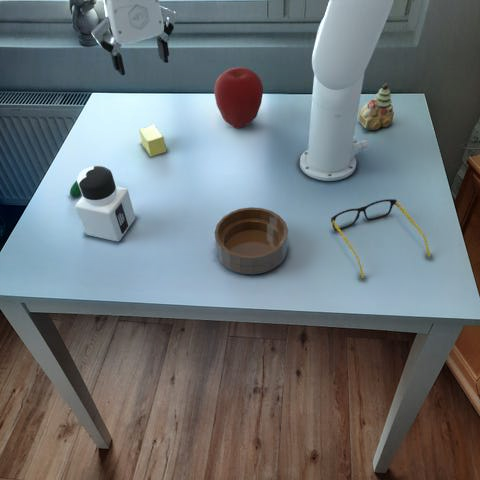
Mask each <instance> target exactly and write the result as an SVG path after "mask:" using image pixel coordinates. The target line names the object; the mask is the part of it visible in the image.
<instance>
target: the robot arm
mask: <svg viewBox="0 0 480 480" xmlns="http://www.w3.org/2000/svg"><path fill="white" fill-rule="evenodd" d="M394 1H395V0H328V4H327V6H326V11H325V14H324V16H323V18H322V19H321V21H320V24H319V26H318V28H317V32H316V36H315V41H314V46H313V51H312V56H311V67H312V71H313V83H312V84H313V85H312V96H311V105H310V120H309V132H308V142H307V149H306V150H305V151H304V152H303V153H302V154H301V156H300V158H299V166H300V169H301V171H302V172H303V173H304V174H305V175H307V176H308V177H310V178H312V179H314V180H318V181H322V182H335V181H341V180H343V179H346V178H348V177H350V176H351V175H352V174H353V173H354V172H355V170H356V168H357V158H356V156H355V155H357V154H358V153H359V152H360V151H364V150H366V149H368V148H369V147H370V143H369V141H368V140H367V139H363V140H360V141H358V138H357V137H356V136H355V131H356V125H357V119H358V115H359V108H360V107H359V106H360V101H361V96H362V90H363V85H364V84H363V83H364V78H365V72H366V69H367V68H368V66H369V63H370V61H371V58H372V56H373V54H374V51H375V50H376V47H377V45H378V42H379V40H380V37H381V34H382V32H383V30H384V27H385V25H386V22H387V20H388V17H389V16H390V13H391V10H392V7H393V6H394ZM103 8H104V13H105V17H104V19H102V21H100V23H99V24H97V26H95V27H94V28H93V29H92V30H91V36H92V37H93V38H94V39H95V40H96V42H97V44H99V46H101V48H103V49H104V50H105V51H107V52H108V53H110V57H111V61H112V65H113V68H114V70H115V71H117V72H118V74H120V75H121V76H125V75H126V70H125V65H124V62H123V57H122V55H121V53H120V50H121V48H122V45H130V44H133V43H138V42H141V41H145V40H149V39H153V38H156V44H157V51H158V57H159V59H160V60H161V61H162V62H163V63H164V64H168V63H169V57H170V51H169V41H170V36H171V34H172V33H173V31H174V29H175V23H176V20H177V13H176V12H175V11H174V10H172V9H169V8H168V7H167V8H166V7H164V6H162V5H161V4H160V0H103ZM164 17H166V21H165V23H164ZM107 31H108V32H109V35H110V38H109V41H107V40H105V39H104V37H103V35H104V34H105V33H106V32H107Z"/></svg>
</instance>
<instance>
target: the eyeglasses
mask: <svg viewBox="0 0 480 480" xmlns="http://www.w3.org/2000/svg"><path fill="white" fill-rule="evenodd" d="M385 202H386V203H387V202H389V203H390V205H389V209H388V211H387V212H386V213H384V214H382V215H378V216H375V217H370V218H369V217H368V216H367V211H366V210H367V209H368V208H369V207H371V206H374V205H377V204H380V203H385ZM394 205H395V206H396V207H397V209H399V210H400V212H402V213H403V215H404V216H405V217H406V218H407V219H408V221H409V222H410V223H411V224H412V225H413V226H414V227H415V228H416V230H417V231H418V232H419V233H420V235H421V237H422V238H423V241H424V243H425V249H426V254H427V257H428V258H431V252H430V247H429V243H428V241H427V238H426V236H425V234H424V232H423V231H422V230H421V229H420V227H419V226H418V225H417V223H416V222H415V221H414V219H413V218H411V216H410V215H409V213H408V212H407V211H406V210H405V208H404V207H403V206H402V205H401V204H400V203H399V201H398V200H397V199H395V198H392V199H391V198H389V199H381V200H376V201H373V202H371V203H369V204H367V205H365V206H361V207H358V208H349V209H346V210H342V211H340V212H338V213H337V214H335V215H334V216H332V217H331V218H330V222H331V226H332V228H333V230H334V231H337V232H338V233H339V234H340V236H341V237H342V238H343V241H345V243H346V244H347V246H349V248H350V250H351V251H352V252H353V254H354V255H355V258H356V260H357V263H358V266H359V271H360V275H361V278H362V279H364V278H365V275H364V271H363V267H362V264H361V261H360V258H359V255H358V254H357V252H356V251H355V249H354V247H353V246H352V244H351V243H350V242H349V239H347V237H346V236H345V235H344V233H343V232H342V230H344V229H346V228H349V227H351V226H353V225H354V224H355V223H356V222H357V221H358V220H359V219H360V215H361V212H363V215H364V217H365V219H366V220H368V221H373V220H377V219H381V218H385V217H387V216H389V215H390V213H391V212H392V209H393V206H394ZM354 211H355V212H357V213H356V216H355V218H354V220H353V221H352V222H351V223H350V224H348V225H345V226H341V227H339V226H338V224H337V222H336V220H337V218H338V217H339V216H341V215H343V214H345V213H349V212H354Z"/></svg>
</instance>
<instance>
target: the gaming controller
mask: <svg viewBox="0 0 480 480" xmlns="http://www.w3.org/2000/svg"><path fill="white" fill-rule="evenodd" d="M82 171H83V170H82ZM82 171H80V173H81V172H82ZM69 195H70V196H71V197H72V198H77V197H79V196H80V195H82V193H81V191H80V188H79V185H78V183H77V179H76V180H75V181H74V182H73V184H72V185H71V187H70V190H69Z"/></svg>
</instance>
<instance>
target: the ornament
mask: <svg viewBox="0 0 480 480" xmlns="http://www.w3.org/2000/svg"><path fill="white" fill-rule="evenodd" d="M389 86H390V85H389V84H388V83H384V84H383V85H382V88H380V89H378V92H377V93H376V95H375V97H374V98H373V99H371V100H369V101H367V102H366V103H365V104H364V105H363V107H362V108H361V109H360V110H359V112H358V122H359V123H360V125H361V126H362V127H363V128H364V129H365V130H366V131H377V130H379V129H380V128H387V127H389V126H390V124H391V123H393V120H394V116H395V112H394V105H393V104H392V102H393V101H392V99H391V98H392V94H391V90H390V89H389Z"/></svg>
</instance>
